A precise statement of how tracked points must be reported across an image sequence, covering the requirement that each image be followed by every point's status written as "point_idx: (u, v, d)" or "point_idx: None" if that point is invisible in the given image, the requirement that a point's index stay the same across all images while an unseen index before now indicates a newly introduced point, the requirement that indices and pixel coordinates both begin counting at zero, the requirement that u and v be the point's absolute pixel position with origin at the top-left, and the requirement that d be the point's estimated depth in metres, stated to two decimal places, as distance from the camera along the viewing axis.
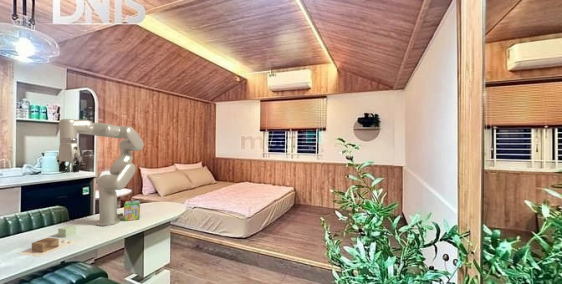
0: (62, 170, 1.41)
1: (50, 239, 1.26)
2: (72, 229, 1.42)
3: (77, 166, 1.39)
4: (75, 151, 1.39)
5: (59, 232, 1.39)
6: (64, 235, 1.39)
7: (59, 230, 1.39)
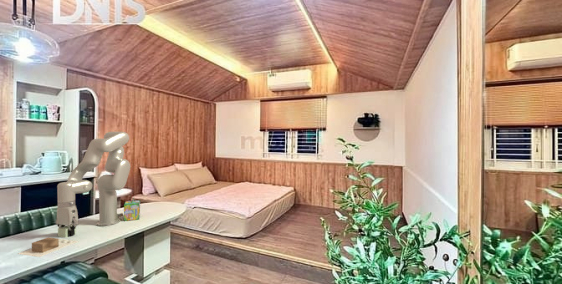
0: None
1: (50, 239, 1.26)
2: None
3: (72, 231, 1.41)
4: (73, 214, 1.40)
5: (59, 232, 1.39)
6: (64, 235, 1.39)
7: (59, 230, 1.39)
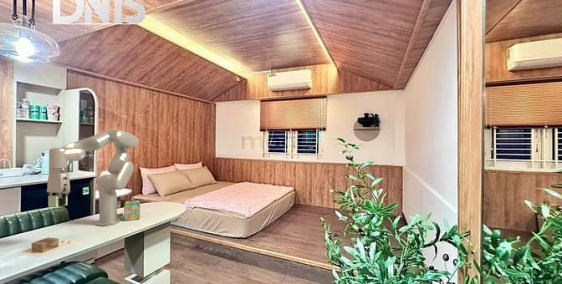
0: None
1: (50, 239, 1.26)
2: None
3: (63, 199, 1.33)
4: (64, 182, 1.33)
5: (49, 200, 1.32)
6: (54, 203, 1.31)
7: (49, 198, 1.32)
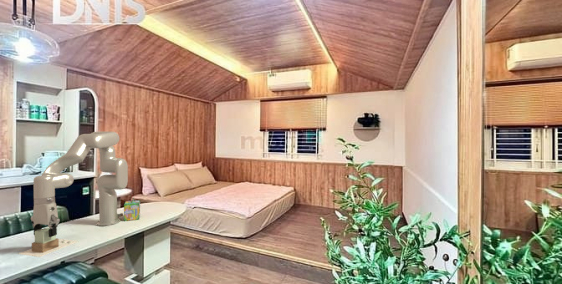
0: None
1: None
2: None
3: (54, 229, 1.23)
4: (52, 212, 1.23)
5: (36, 235, 1.22)
6: (41, 238, 1.21)
7: (36, 233, 1.22)
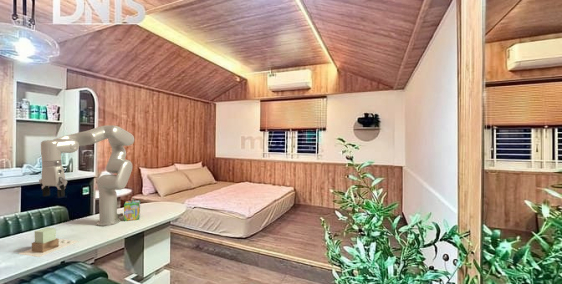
0: (46, 194, 1.32)
1: None
2: (51, 232, 1.24)
3: (62, 190, 1.30)
4: (59, 175, 1.30)
5: (36, 235, 1.22)
6: (41, 238, 1.21)
7: (36, 233, 1.22)
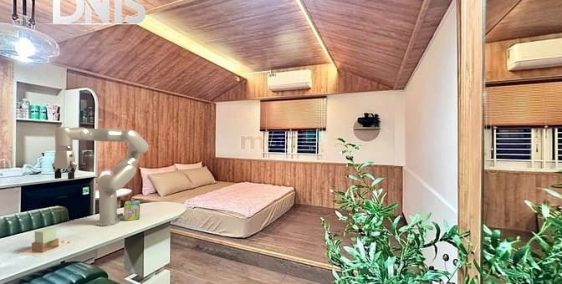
0: (58, 177, 1.45)
1: None
2: (51, 232, 1.24)
3: (72, 173, 1.43)
4: (70, 158, 1.42)
5: (36, 235, 1.22)
6: (41, 238, 1.21)
7: (36, 233, 1.22)
